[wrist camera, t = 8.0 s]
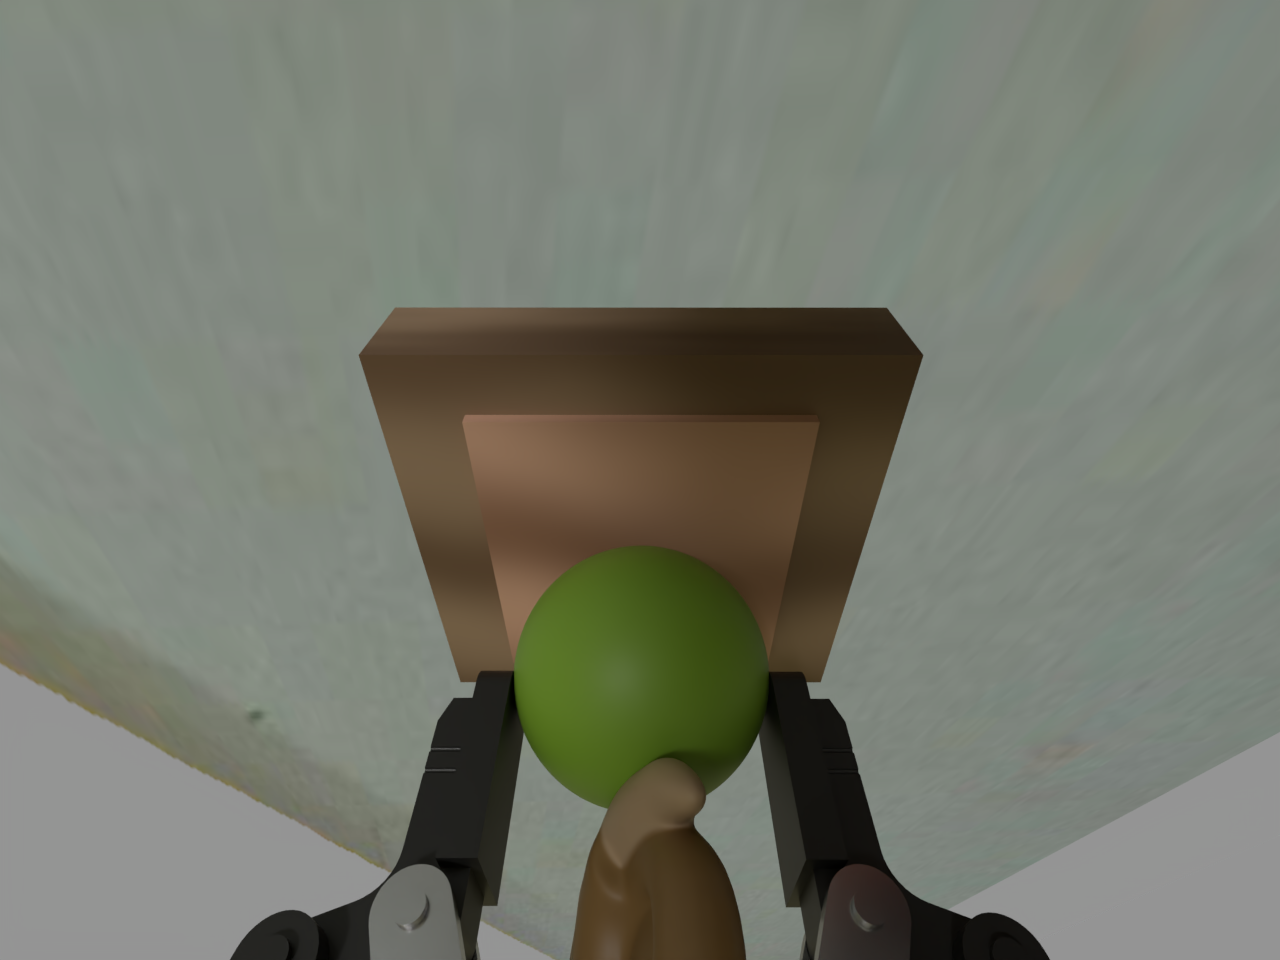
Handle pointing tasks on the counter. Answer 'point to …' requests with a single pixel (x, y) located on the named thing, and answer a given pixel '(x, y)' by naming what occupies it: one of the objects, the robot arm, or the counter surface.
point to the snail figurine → (645, 740)
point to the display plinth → (640, 454)
